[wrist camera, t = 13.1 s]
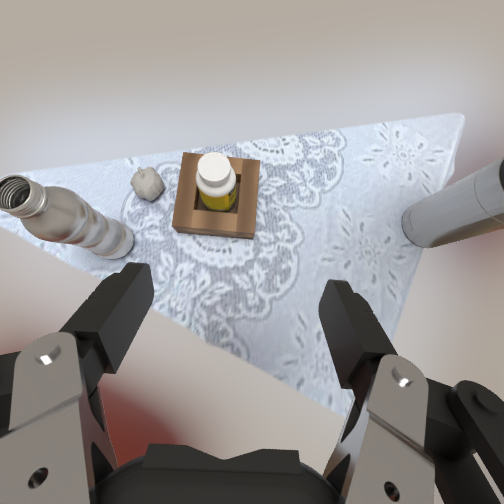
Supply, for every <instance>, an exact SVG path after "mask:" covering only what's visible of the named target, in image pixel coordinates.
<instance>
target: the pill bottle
mask: <svg viewBox="0 0 504 504" xmlns="http://www.w3.org/2000/svg"><path fill="white" fill-rule="evenodd" d="M196 183H197V186H198V189H199V192H200V195H201V198H202V201H203V204H204V206H205V207H206V209H207V210H208V211H212V212H223V213H228V212H229V211H230V210H231V209H232V208H233V207H234V205H235V202H236V175H235V172H234V170H233V168H232V167H231V165H230V162H229V160H228V158H227V157H226V156H224V155H223V154H221V153H218V152H210V153H207V154H205V155H203V156H202V157H201V158H200V160H199V162H198V170H197V173H196Z"/></svg>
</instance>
